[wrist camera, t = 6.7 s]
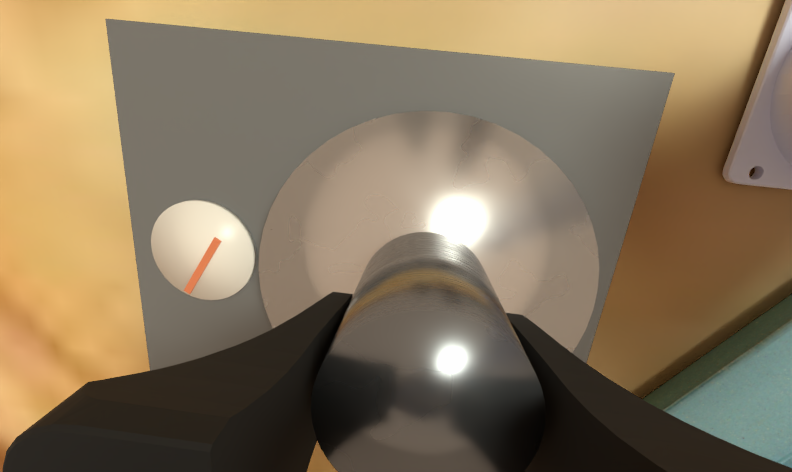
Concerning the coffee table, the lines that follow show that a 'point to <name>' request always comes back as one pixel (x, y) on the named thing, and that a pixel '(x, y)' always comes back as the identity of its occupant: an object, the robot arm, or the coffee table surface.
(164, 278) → the scale base
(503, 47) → the coffee table surface
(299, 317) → the robot arm
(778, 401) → the rectangular tray
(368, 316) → the cylinder
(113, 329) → the coffee table surface
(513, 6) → the coffee table surface
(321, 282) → the scale pan
